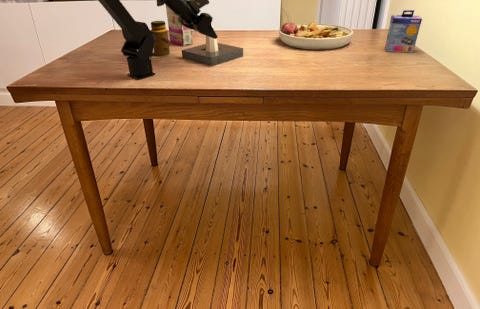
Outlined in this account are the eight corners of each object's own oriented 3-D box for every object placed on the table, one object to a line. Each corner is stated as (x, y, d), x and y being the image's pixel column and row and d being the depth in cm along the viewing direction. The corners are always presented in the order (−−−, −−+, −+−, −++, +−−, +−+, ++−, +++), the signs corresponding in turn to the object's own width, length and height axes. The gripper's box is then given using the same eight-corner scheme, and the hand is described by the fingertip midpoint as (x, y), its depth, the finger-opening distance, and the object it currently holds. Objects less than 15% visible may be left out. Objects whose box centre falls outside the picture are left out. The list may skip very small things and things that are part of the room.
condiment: (174, 55, 128) (170, 22, 122) (153, 58, 124) (147, 24, 118) (166, 51, 134) (162, 19, 127) (146, 54, 130) (140, 22, 123)
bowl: (344, 35, 152) (347, 16, 148) (357, 52, 127) (361, 30, 123) (278, 34, 155) (279, 16, 151) (278, 51, 130) (279, 30, 126)
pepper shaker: (222, 58, 123) (220, 26, 117) (209, 60, 121) (207, 28, 115) (215, 54, 127) (213, 24, 121) (202, 57, 125) (200, 26, 119)
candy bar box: (193, 44, 142) (189, 2, 133) (183, 46, 139) (178, 3, 131) (179, 40, 149) (174, 0, 141) (169, 42, 146) (164, 1, 138)
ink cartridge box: (386, 52, 125) (394, 10, 118) (383, 48, 130) (391, 8, 122) (414, 53, 124) (424, 10, 116) (411, 49, 128) (420, 8, 121)
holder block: (212, 66, 114) (211, 57, 113) (182, 58, 124) (181, 50, 122) (243, 56, 124) (243, 48, 123) (213, 49, 134) (213, 41, 132)
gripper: (204, -14, 102) (237, 20, 112) (182, -18, 116) (213, 13, 126) (183, 16, 103) (217, 47, 113) (163, 9, 117) (195, 37, 127)
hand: (211, 35), depth 120 cm, fingers open, 9 cm apart
